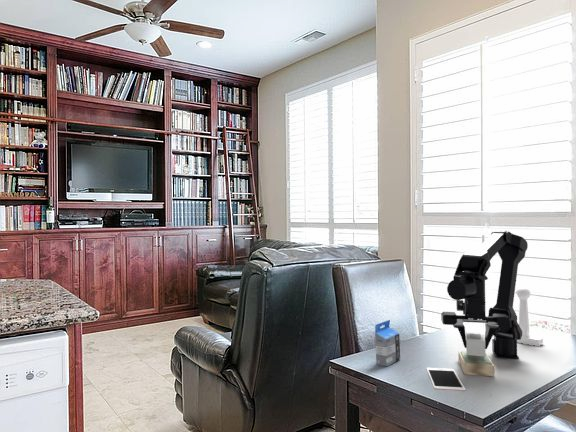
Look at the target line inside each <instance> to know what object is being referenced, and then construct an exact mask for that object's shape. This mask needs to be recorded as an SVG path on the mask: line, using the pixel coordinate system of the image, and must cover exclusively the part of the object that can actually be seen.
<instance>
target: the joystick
mask: <svg viewBox="0 0 576 432" xmlns="http://www.w3.org/2000/svg"><path fill="white" fill-rule="evenodd" d="M515 293H516V296H517V298H519V307H518V308H519V311H518V324H519V326H520V328H521V330H522V338H521V340H517V344H521V343H523V344H522V345H527V344H529V345H528V346H533V345H535V347H541V346H542V344H544V339H543V338H544V337H539V336H535V334H533V333H530V321H529V320H530V319H529V309H528V299H529V298H530V296H531V291H530V289H529V288H528V287H526V286H520V287H518V288H517V289H516V291H515ZM540 345H541V346H540Z"/></svg>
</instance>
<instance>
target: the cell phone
mask: <svg viewBox="0 0 576 432" xmlns="http://www.w3.org/2000/svg"><path fill="white" fill-rule="evenodd" d="M426 371H427V374H428V377H429V379H430V381H431V384H432V387H433V389H435V390H442V391H443V390H446V391H447V390H448V391H466V388H465V387H464V384H463V383H462V381H461V379H460V378H459V376H458V374H457V373H456V371H455V369H454V368H445V367H444V368H443V367H441V368H440V367H426Z"/></svg>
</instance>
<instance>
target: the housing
mask: <svg viewBox="0 0 576 432" xmlns="http://www.w3.org/2000/svg"><path fill="white" fill-rule="evenodd" d="M465 334H466V348H465V349H466V351H467V355H474V356H484V357H486V354H487V353H486V349H485V333H475V332H465Z"/></svg>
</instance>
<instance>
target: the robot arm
mask: <svg viewBox="0 0 576 432" xmlns="http://www.w3.org/2000/svg"><path fill="white" fill-rule="evenodd" d="M528 247H529V246H528V241H527V240H526V239H525V238H524V237H523V236H520V235H517V234H514V233H512V232H511V231H509V230H494V231H492V232H491V233H490V235H489V236H488V237H487V238H486V239H485V240H484V242H482V243H481V244H480V245H479V246H478V247H477V248H476V249H471V250H468V251H466V252H465V253H463V254H462V255H461V257H460V259H459V261H458V263H457V266H456V270H455V272H454V275H453V280H450V281H449V282H448V284H447V286H446V290H447V291H446V292H447V295H448V296H449V297H450V298H451V299H453V300H455V301H456V311H442V312H441V314H440V316H441V317H440V318H441V323H442V325H447V326H448V325H449V326H453V328H454V329H458V332H459V335H460V337H461V341H462V343H463V344H462V345H463V347H464V348H465V349H466V327H465V325H464V323H483V324H484V325H485V333H484V337H485V350H487V349H488V347H489V345H490V343H491V345H492V346H491V351H492V353H493V354H494V355H495V357H496V358H501V359H502V358H503V359H504V358H505V359H517V360H518V359H520V357H519V355H518V343H517V340H521V338H522V330H521V328H520V326H519V322H518V316H517V313H516V311H515V310H514V301H515V300H514V299H515V293H516V291H515V290H516V285H517V284H516V283H517V276H518V266H519V264H520V263H521V261H523V259H524V258H525V257H526V252H527V250H528ZM497 254H498V255H499V258H500V260H501V266H500V267H501V268H500V276H499V283H498V289H497V296H496V297H497V298H496V303H495V305H494V306H493V307H489V309H488V315H487V316H486V280H487V281H488V279H489V278H488V276H487V275H486V274H487V272H489V269H490V267H491V265H492V264H491V260H492V259H493V258H494V257H495V255H497ZM457 311H459V312H462V315H460V314H459V315H457V313H456V312H457Z"/></svg>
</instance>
